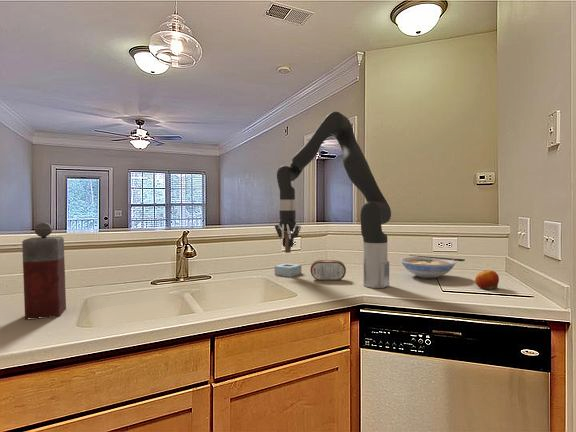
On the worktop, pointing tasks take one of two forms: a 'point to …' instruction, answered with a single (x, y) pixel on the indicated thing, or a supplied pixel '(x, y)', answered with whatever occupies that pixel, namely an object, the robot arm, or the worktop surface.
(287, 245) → the dowel
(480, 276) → the fruit
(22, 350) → the worktop surface
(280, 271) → the light blue square box
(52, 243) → the decanter
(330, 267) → the tin
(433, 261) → the ramen bowl
